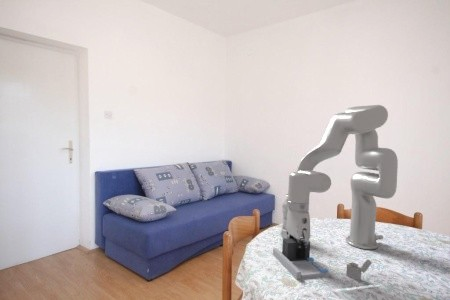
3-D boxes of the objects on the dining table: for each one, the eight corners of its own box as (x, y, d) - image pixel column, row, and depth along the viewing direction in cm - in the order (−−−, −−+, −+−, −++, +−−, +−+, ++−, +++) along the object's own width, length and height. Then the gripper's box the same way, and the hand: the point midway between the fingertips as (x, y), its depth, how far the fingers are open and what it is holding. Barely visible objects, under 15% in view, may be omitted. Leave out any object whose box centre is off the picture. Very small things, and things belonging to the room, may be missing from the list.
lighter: (345, 277, 88) (347, 253, 87) (348, 275, 89) (349, 252, 88) (368, 287, 82) (370, 262, 82) (370, 285, 83) (372, 260, 83)
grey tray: (301, 253, 104) (301, 246, 104) (329, 277, 87) (330, 268, 87) (272, 256, 102) (273, 248, 101) (296, 281, 84) (296, 272, 84)
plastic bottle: (296, 242, 115) (298, 197, 114) (280, 241, 116) (282, 196, 115) (295, 237, 121) (297, 194, 120) (280, 235, 123) (282, 193, 122)
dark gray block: (303, 255, 102) (304, 237, 101) (309, 260, 98) (310, 241, 97) (282, 257, 100) (282, 238, 99) (287, 262, 96) (287, 243, 95)
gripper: (321, 212, 90) (318, 264, 91) (295, 200, 107) (293, 243, 108) (301, 213, 88) (298, 266, 89) (278, 200, 105) (276, 245, 106)
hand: (295, 253), depth 99 cm, fingers open, 6 cm apart
